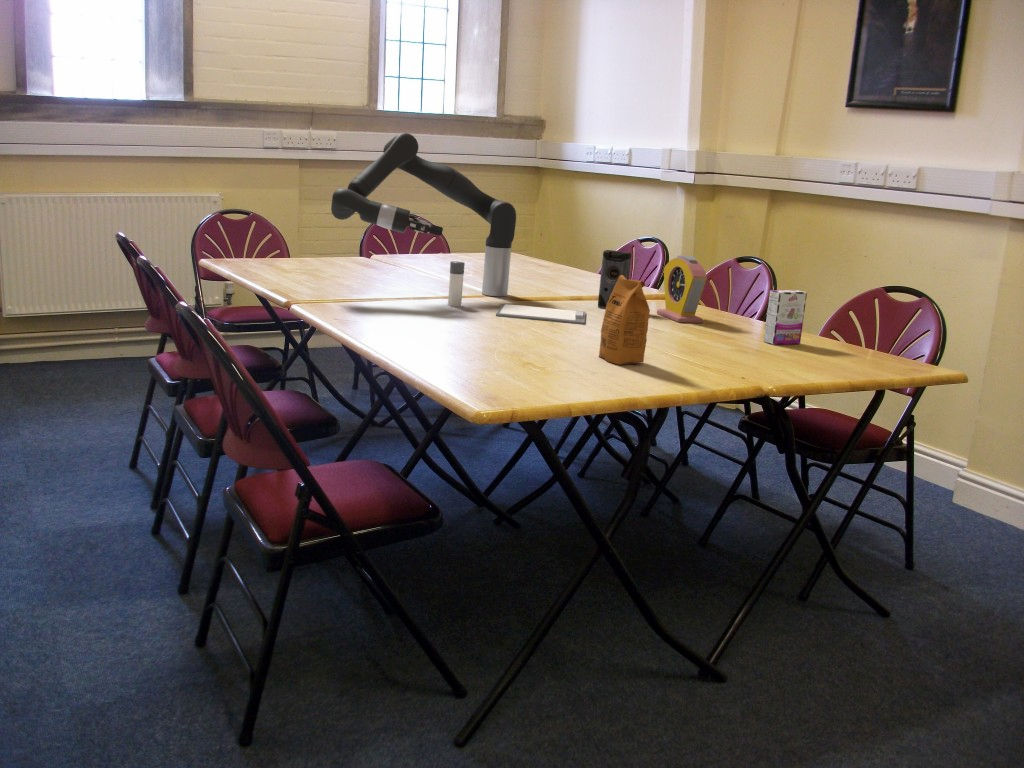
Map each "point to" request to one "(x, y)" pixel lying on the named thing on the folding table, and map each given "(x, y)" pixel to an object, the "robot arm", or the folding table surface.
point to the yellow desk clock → (683, 289)
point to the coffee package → (625, 323)
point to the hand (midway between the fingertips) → (442, 231)
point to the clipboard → (541, 314)
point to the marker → (456, 283)
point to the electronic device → (612, 273)
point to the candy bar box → (785, 317)
